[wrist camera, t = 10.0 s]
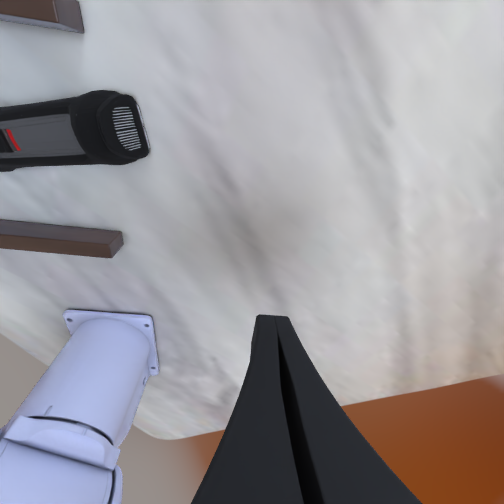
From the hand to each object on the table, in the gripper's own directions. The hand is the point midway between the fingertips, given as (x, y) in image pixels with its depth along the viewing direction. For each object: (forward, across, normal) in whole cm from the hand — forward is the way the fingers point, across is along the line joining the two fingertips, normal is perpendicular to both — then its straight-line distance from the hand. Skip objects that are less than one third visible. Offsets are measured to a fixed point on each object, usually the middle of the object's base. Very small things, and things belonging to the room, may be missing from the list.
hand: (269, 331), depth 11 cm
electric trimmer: (+10, +15, -5) cm, 19 cm away
